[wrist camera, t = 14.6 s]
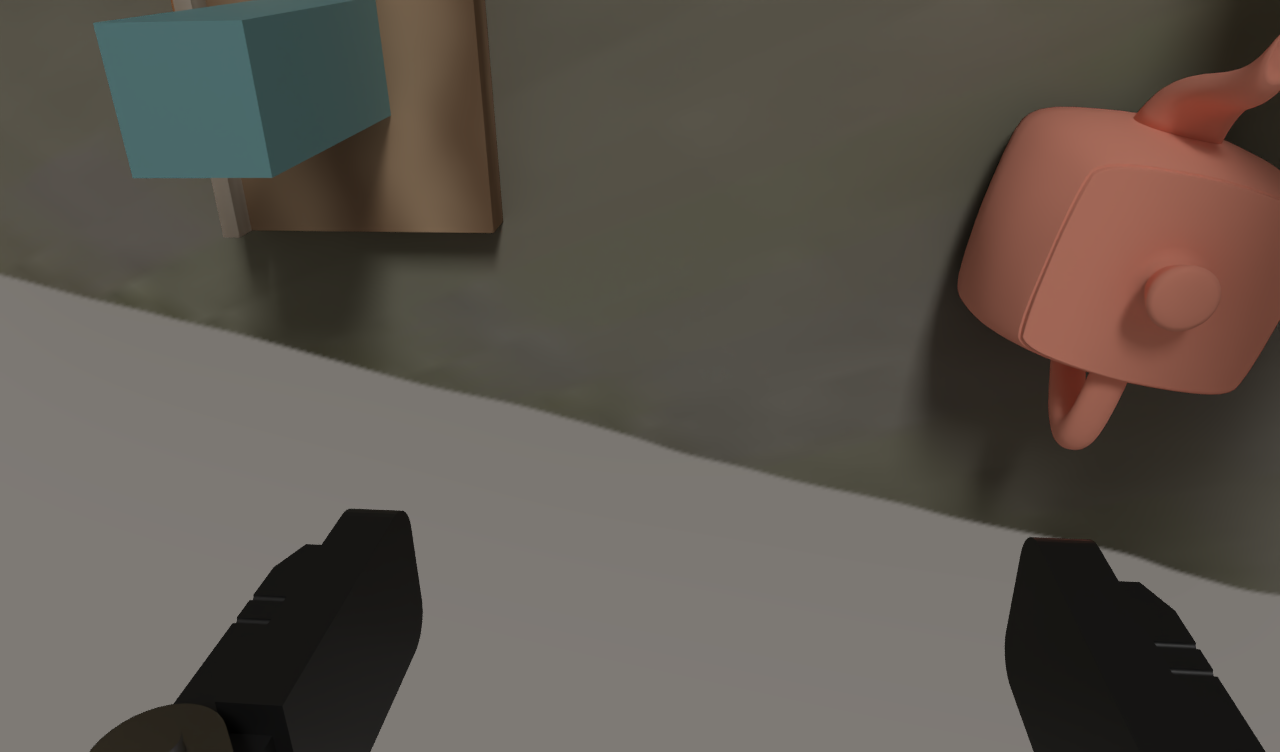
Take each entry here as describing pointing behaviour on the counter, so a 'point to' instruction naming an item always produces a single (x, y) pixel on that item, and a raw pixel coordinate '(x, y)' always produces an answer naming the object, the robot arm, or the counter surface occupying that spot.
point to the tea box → (243, 85)
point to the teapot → (1133, 246)
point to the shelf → (395, 140)
